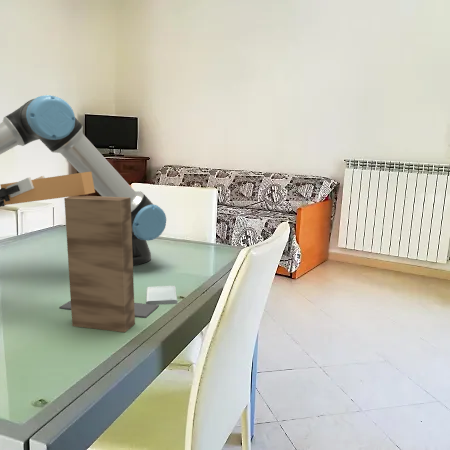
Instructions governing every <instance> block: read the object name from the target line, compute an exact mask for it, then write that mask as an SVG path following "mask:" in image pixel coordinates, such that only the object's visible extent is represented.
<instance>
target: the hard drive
mask: <svg viewBox="0 0 450 450" xmlns="http://www.w3.org/2000/svg"><path fill="white" fill-rule="evenodd" d="M145 296H146V297H145V298H146V299H145V304H152V305H159V306H160V305H176V304H178V296H177V289H176V285H158V286H157V285H156V286H153V285H152V286H147V287H146V294H145Z"/></svg>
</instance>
